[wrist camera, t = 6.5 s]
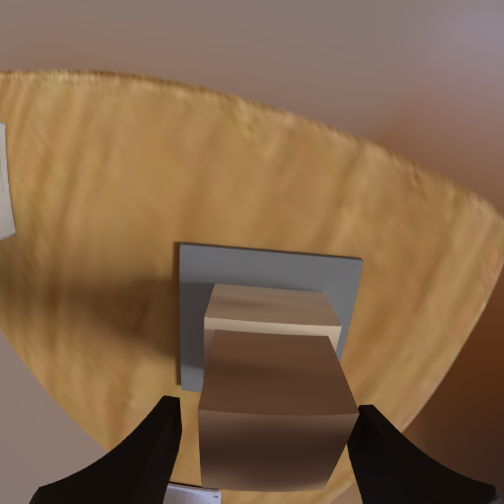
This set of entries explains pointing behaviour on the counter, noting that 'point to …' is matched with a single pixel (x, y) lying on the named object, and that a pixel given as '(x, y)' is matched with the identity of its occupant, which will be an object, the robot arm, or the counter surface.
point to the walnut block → (272, 412)
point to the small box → (5, 191)
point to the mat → (255, 275)
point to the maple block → (268, 313)
